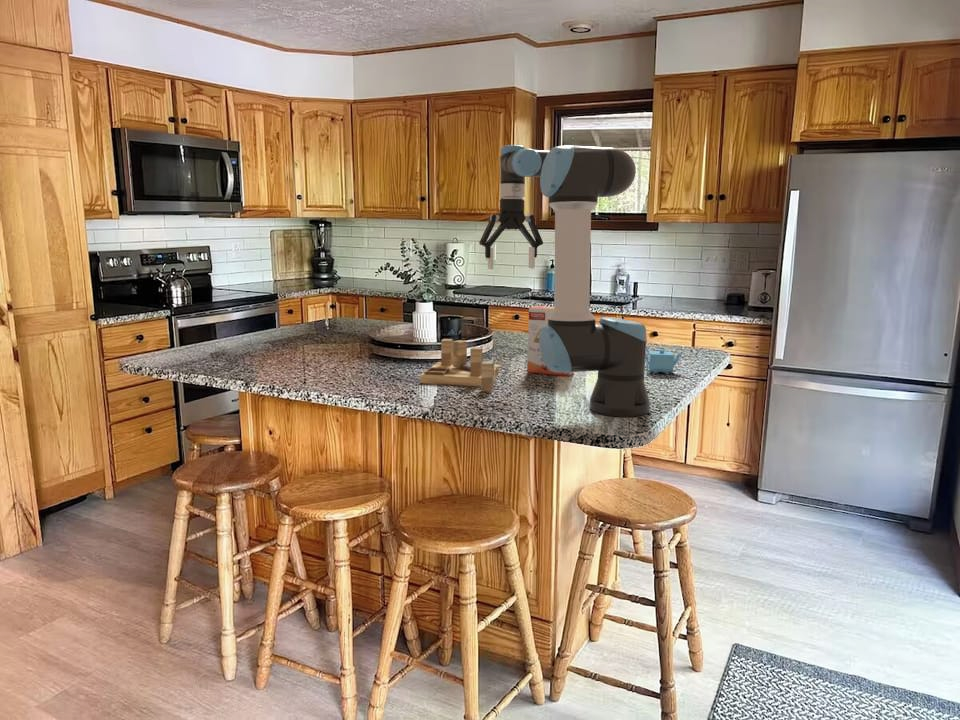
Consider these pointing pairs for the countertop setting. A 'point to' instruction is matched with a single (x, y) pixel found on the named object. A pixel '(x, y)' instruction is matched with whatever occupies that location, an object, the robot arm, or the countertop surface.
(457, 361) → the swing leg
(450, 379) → the seat
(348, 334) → the countertop surface
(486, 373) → the loose leg
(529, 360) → the cracker box
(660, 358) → the teapot
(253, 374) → the countertop surface
